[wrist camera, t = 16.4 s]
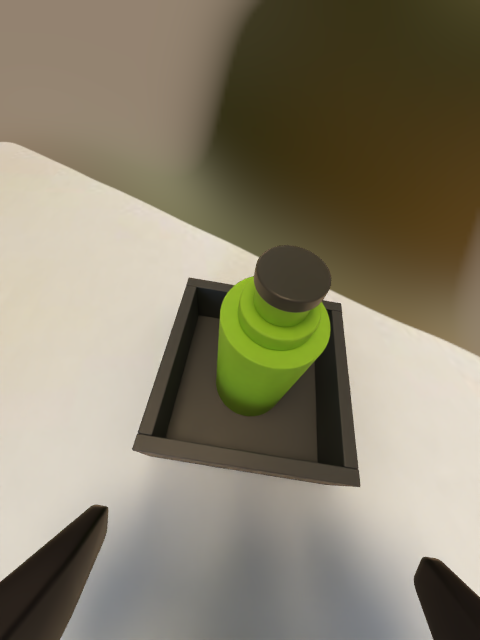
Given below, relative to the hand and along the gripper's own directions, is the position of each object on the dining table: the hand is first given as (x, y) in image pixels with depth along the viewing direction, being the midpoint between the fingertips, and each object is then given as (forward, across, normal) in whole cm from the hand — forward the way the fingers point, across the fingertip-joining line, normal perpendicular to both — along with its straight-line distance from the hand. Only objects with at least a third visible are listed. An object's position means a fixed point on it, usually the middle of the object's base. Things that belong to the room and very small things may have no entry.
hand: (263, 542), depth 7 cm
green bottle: (+13, 0, +1) cm, 13 cm away
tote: (+13, 0, +2) cm, 13 cm away
